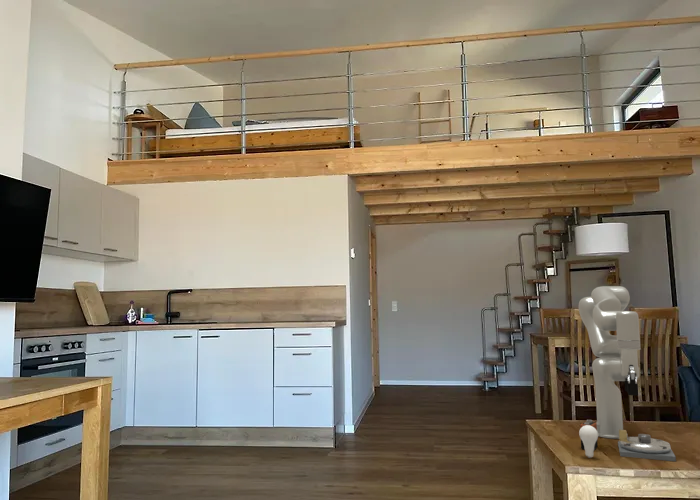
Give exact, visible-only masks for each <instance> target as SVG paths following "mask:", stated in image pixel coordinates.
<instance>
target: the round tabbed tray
mask: <svg viewBox="0 0 700 500" xmlns="http://www.w3.org/2000/svg"><path fill="white" fill-rule="evenodd" d="M627 434H628V433H627V429H623V430H620V429H619V439H618V441H620V446H621V447H623V448H625V449H628V450H631V451H636V452H643V453H668V452H670V451H671V450H672V448H671V443H669V442H668V441H664V440H662V439H657V438H652V437H651V435H650V434H647V433H638V434H637V435H638V436H628V437H627Z"/></svg>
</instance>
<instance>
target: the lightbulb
mask: <svg viewBox="0 0 700 500" xmlns="http://www.w3.org/2000/svg"><path fill="white" fill-rule="evenodd" d="M578 434H579V438H580V441H581V440H582V441H583V444H584V449H585V450H584V452H585V456H586V457H587V458H589V459H591V458H593V457H594V455H595V454H594V453H595V452H594V451H595V449H594V445H595V443H596V441H597V442H598V438H599V436H598V432H597V430H596V429H595V428H594V427H592V426H590V425H585V426H583V427H582V428H581V429H580V428H579V432H578Z"/></svg>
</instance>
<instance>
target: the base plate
mask: <svg viewBox="0 0 700 500" xmlns="http://www.w3.org/2000/svg"><path fill="white" fill-rule="evenodd" d="M617 446H618V451H619V455H620V457H626V458H636V459H637V458H638V459H646V460H657V461H658V460H659V461H670V462H677V459H676V458H677V457H676V455H675V453H674V451H673V450H672V449H671V451H670V452H668V453H643V452H636V451H631V450H628V449H625V448H623V447H621V446H620V440H618V441H617Z"/></svg>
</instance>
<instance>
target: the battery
mask: <svg viewBox="0 0 700 500" xmlns="http://www.w3.org/2000/svg"><path fill="white" fill-rule="evenodd" d="M585 425H590V426H592V427H594V428H595V429H596V430H597V424H596V422H594V421H593V420H592V419H586V421H584V422H582V423H581V424H580V425H579V427H580V428H579V430H580V429H581V428H582V427H583V426H585ZM598 443H599V442H598V440H597V441H596V443H595V445H594V450H596V449H597V448H598V447H599V445H598ZM580 447H581V450H584V451H585V449H584V444H583V441H582V440H581V439H580Z"/></svg>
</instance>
